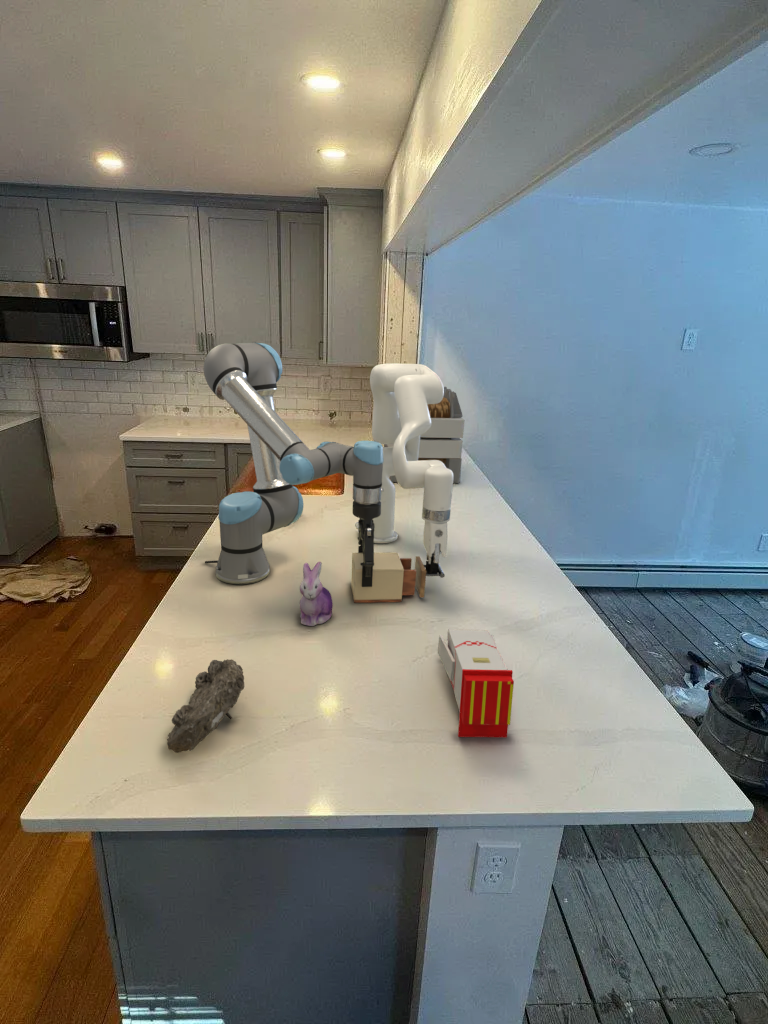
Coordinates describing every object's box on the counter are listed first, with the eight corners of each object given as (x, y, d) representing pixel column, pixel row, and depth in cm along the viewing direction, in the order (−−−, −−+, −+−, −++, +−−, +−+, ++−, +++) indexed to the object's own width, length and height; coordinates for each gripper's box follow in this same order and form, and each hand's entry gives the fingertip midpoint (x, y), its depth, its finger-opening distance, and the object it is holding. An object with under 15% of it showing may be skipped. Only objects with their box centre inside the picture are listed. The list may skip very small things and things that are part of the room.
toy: (488, 613, 130) (523, 677, 101) (484, 667, 133) (517, 744, 104) (435, 612, 130) (455, 676, 101) (432, 666, 133) (451, 743, 103)
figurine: (305, 631, 137) (304, 575, 132) (291, 611, 146) (290, 558, 141) (340, 623, 142) (342, 569, 137) (325, 604, 150) (326, 552, 145)
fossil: (192, 660, 117) (244, 628, 112) (224, 691, 120) (276, 661, 115) (142, 746, 98) (202, 712, 93) (182, 779, 101) (242, 748, 96)
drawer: (436, 581, 165) (439, 556, 162) (444, 597, 156) (446, 570, 153) (377, 581, 162) (379, 556, 159) (381, 598, 153) (383, 571, 150)
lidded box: (395, 583, 164) (397, 552, 160) (401, 602, 154) (403, 569, 150) (351, 584, 162) (352, 552, 159) (354, 602, 152) (355, 569, 149)
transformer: (382, 463, 289) (386, 382, 275) (445, 464, 293) (451, 384, 279) (390, 482, 257) (394, 392, 243) (460, 483, 261) (468, 394, 247)
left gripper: (387, 516, 138) (383, 596, 145) (376, 487, 160) (373, 558, 167) (356, 516, 137) (354, 597, 144) (349, 487, 159) (348, 558, 166)
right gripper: (456, 523, 145) (450, 587, 152) (443, 504, 159) (439, 563, 165) (427, 523, 144) (422, 587, 151) (417, 504, 158) (413, 563, 165)
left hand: (364, 576), depth 156 cm, fingers closed on lidded box, 11 cm apart
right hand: (431, 574), depth 158 cm, fingers closed
